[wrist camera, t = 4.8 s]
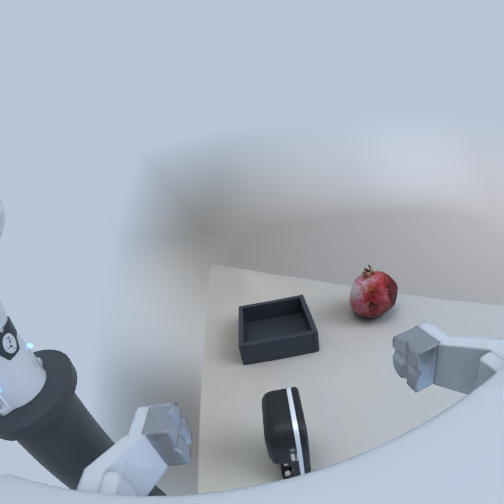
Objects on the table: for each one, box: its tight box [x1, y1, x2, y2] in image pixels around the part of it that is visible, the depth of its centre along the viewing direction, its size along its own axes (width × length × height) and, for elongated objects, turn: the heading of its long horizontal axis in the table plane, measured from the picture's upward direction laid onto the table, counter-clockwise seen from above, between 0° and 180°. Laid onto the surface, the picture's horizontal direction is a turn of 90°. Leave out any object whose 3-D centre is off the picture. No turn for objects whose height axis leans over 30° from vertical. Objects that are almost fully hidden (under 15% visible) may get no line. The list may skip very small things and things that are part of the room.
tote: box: [239, 295, 319, 365], centre depth 50 cm, size 13×13×4 cm
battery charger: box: [262, 387, 311, 479], centre depth 25 cm, size 7×4×11 cm, turn 2°
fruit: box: [350, 265, 398, 318], centre depth 50 cm, size 9×10×10 cm
